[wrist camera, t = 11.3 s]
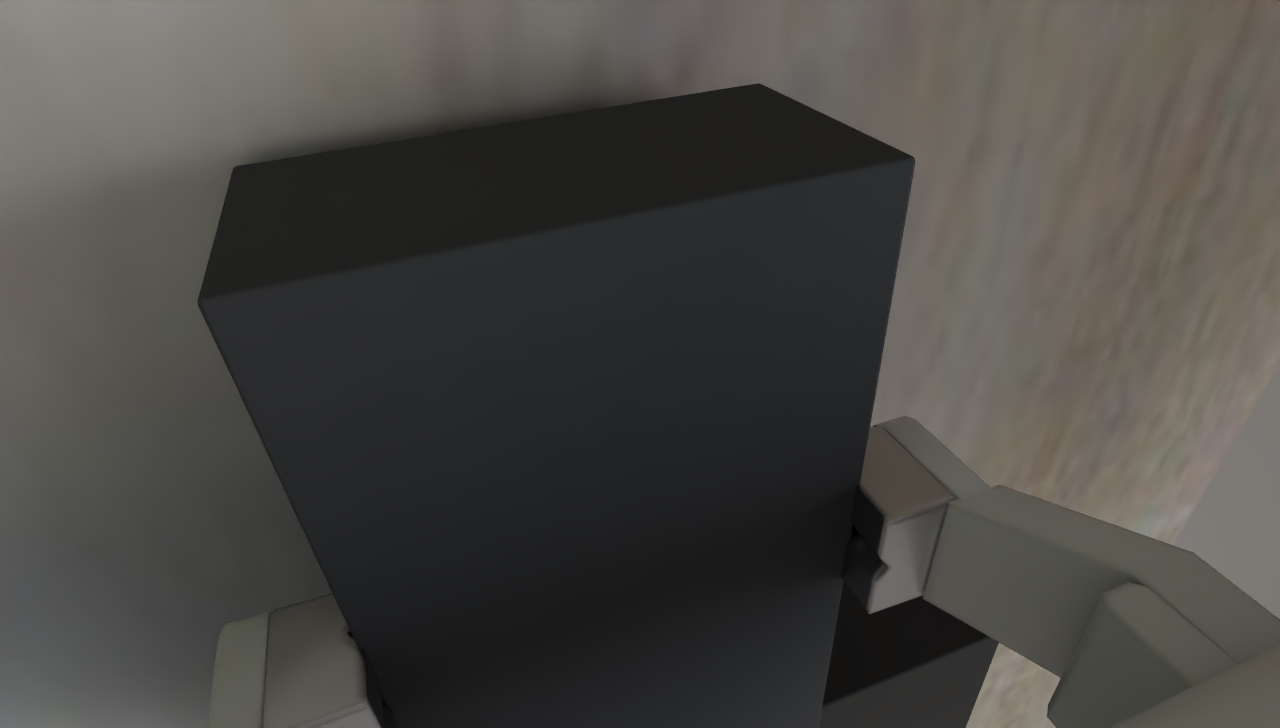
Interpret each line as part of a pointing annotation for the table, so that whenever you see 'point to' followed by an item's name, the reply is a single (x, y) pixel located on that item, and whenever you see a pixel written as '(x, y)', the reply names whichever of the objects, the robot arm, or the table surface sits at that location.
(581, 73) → the table surface
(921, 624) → the black u-shaped block
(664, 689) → the pad
